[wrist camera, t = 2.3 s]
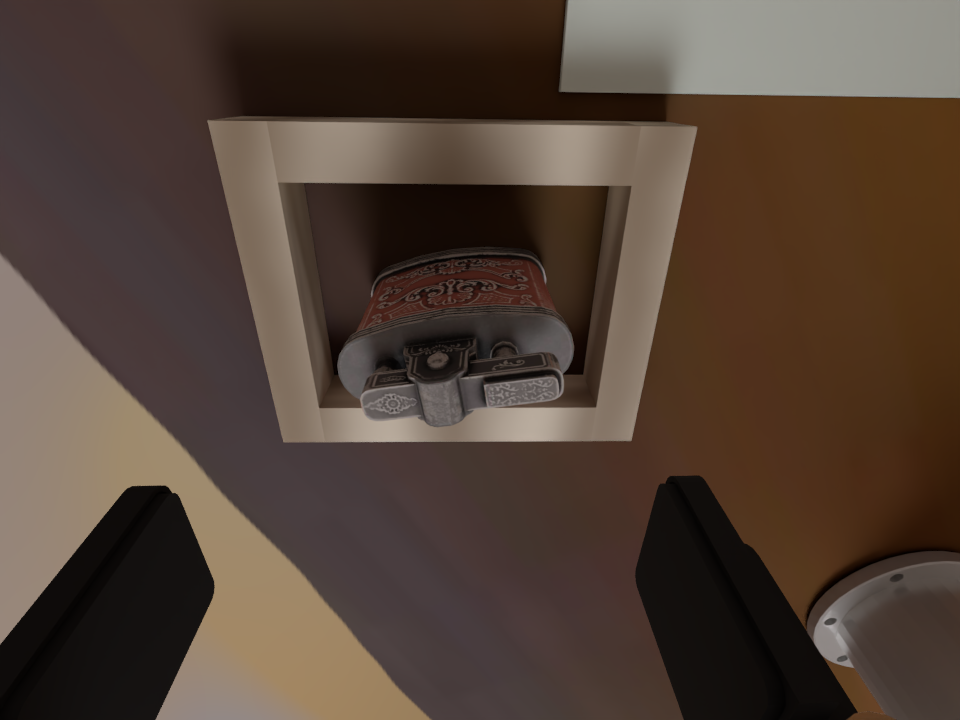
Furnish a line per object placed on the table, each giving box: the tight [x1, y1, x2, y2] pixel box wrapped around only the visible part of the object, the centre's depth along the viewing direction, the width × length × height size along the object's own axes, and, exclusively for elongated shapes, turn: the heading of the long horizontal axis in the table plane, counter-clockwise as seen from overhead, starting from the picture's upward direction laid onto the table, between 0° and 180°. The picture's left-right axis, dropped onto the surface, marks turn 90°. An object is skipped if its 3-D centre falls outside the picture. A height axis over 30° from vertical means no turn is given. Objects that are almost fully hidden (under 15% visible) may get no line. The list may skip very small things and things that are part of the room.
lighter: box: [337, 247, 574, 427], centre depth 19 cm, size 8×3×10 cm, turn 97°
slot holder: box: [208, 116, 697, 442], centre depth 22 cm, size 17×14×3 cm
